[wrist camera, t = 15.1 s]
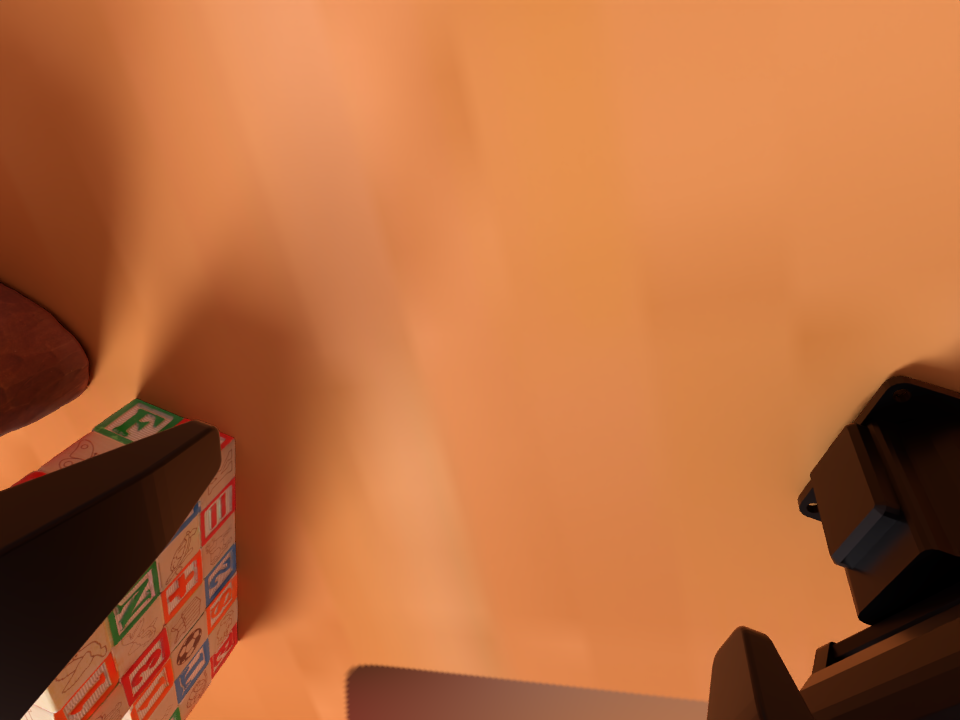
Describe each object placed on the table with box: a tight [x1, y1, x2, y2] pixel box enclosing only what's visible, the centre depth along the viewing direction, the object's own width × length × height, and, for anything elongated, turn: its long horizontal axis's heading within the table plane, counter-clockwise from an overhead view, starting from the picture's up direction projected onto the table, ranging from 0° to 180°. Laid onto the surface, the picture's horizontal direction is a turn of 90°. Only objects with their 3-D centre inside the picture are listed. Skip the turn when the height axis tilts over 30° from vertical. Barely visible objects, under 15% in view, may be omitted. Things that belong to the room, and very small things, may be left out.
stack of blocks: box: [11, 399, 238, 720], centre depth 33 cm, size 21×6×12 cm, turn 167°
